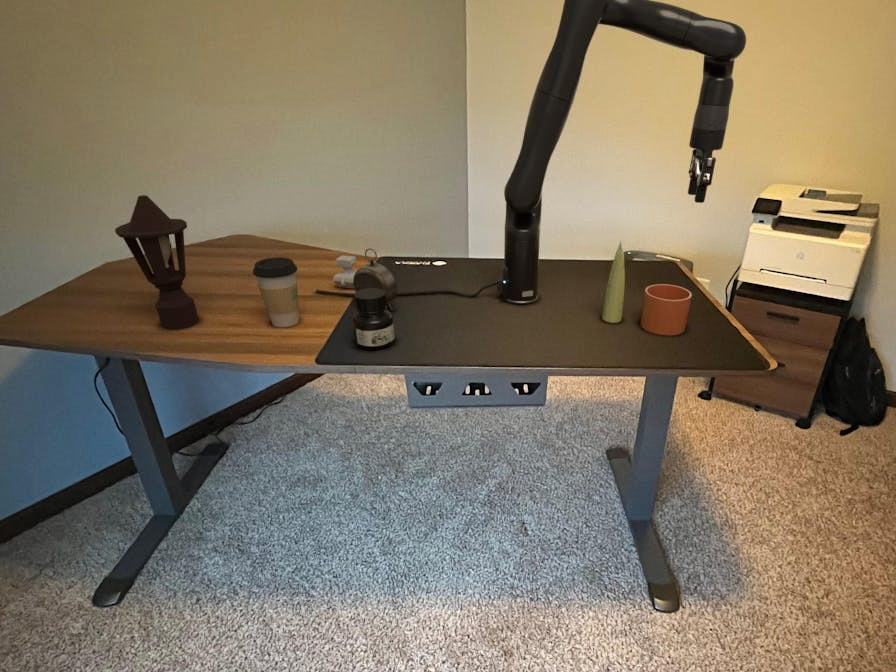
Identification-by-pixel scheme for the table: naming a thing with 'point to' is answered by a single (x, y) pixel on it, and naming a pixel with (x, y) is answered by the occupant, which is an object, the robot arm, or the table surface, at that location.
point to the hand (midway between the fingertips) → (695, 198)
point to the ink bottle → (372, 320)
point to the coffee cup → (278, 289)
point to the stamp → (345, 271)
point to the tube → (615, 289)
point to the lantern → (161, 260)
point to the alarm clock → (375, 279)
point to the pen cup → (665, 309)
